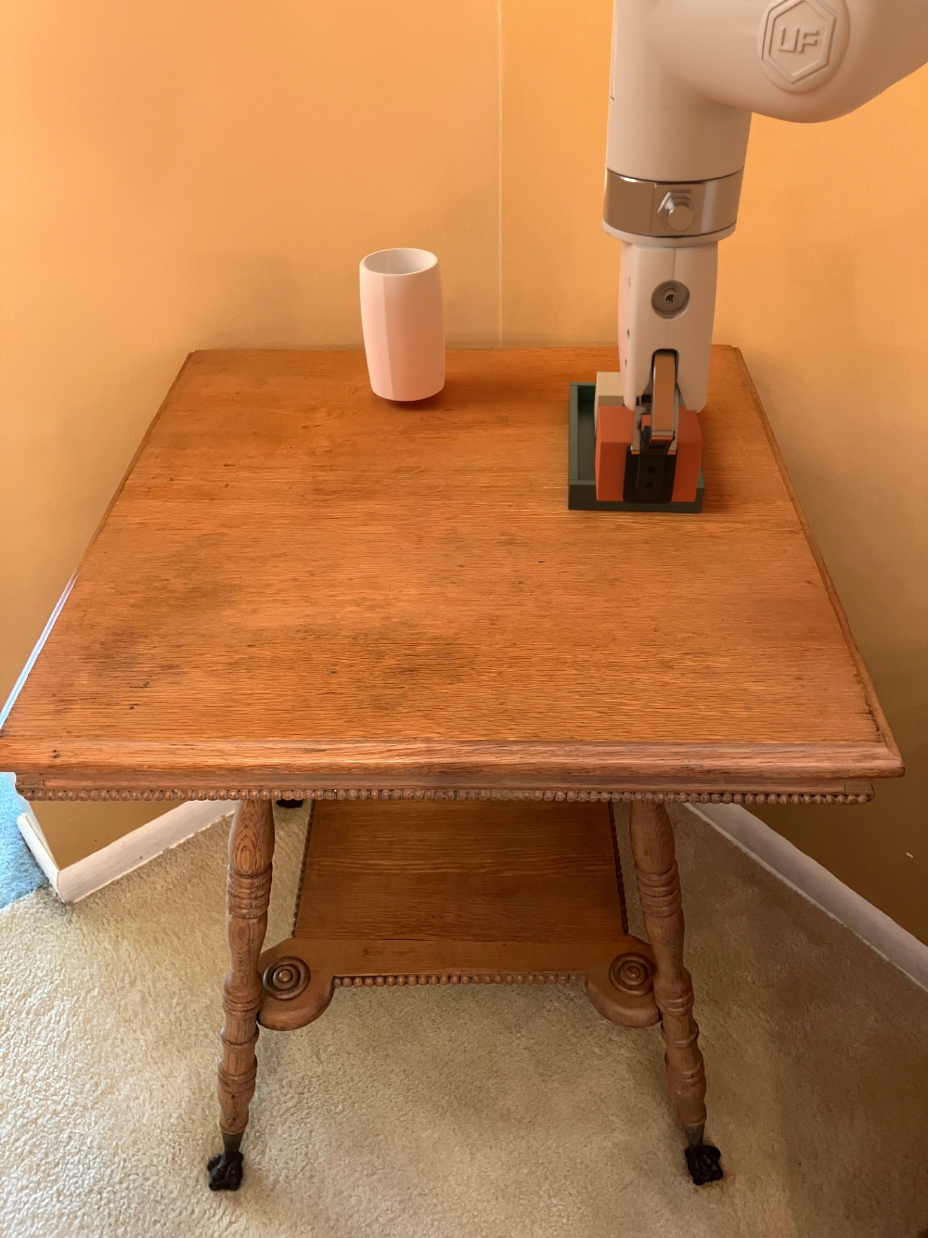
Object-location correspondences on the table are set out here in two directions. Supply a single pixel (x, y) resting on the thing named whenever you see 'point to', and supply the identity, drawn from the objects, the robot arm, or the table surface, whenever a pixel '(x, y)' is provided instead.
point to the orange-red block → (617, 435)
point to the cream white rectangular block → (607, 392)
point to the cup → (403, 323)
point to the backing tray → (584, 460)
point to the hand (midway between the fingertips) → (644, 475)
